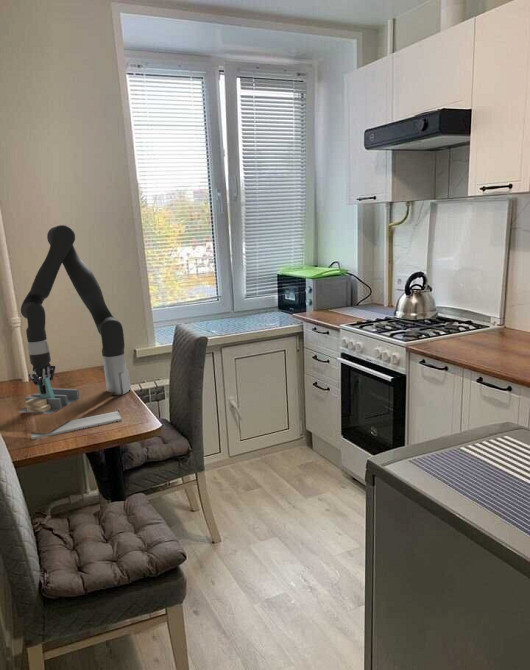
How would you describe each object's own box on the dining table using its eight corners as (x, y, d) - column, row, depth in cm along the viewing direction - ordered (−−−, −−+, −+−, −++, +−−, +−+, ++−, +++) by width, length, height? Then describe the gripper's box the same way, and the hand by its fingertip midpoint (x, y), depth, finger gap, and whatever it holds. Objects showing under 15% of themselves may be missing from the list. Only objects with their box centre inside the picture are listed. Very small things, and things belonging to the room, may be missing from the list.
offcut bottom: (50, 409, 202) (50, 404, 202) (44, 412, 199) (43, 407, 198) (34, 408, 205) (33, 403, 204) (27, 411, 201) (26, 406, 200)
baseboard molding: (31, 429, 187) (32, 441, 177) (30, 422, 187) (30, 433, 176) (116, 412, 200) (122, 422, 189) (115, 405, 199) (121, 414, 189)
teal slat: (56, 402, 206) (48, 377, 204) (53, 404, 204) (45, 378, 202) (46, 404, 208) (38, 378, 206) (43, 405, 206) (35, 380, 204)
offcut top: (47, 404, 202) (46, 399, 202) (40, 407, 199) (39, 402, 198) (32, 403, 204) (31, 398, 204) (25, 406, 201) (24, 402, 200)
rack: (80, 401, 214) (79, 388, 213) (51, 417, 197) (49, 404, 196) (49, 399, 219) (47, 387, 218) (17, 415, 201) (15, 402, 200)
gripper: (34, 356, 194) (41, 399, 198) (58, 347, 207) (64, 387, 211) (18, 355, 196) (26, 398, 200) (43, 347, 209) (49, 387, 213)
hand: (45, 392), depth 205 cm, fingers closed on teal slat, 1 cm apart
